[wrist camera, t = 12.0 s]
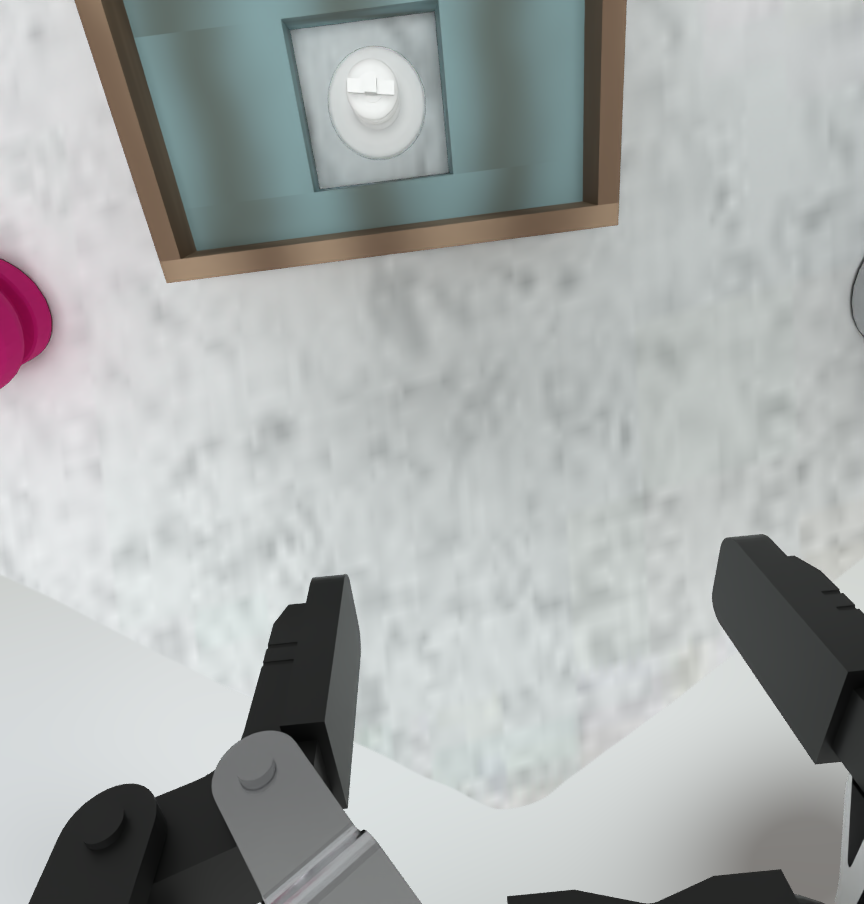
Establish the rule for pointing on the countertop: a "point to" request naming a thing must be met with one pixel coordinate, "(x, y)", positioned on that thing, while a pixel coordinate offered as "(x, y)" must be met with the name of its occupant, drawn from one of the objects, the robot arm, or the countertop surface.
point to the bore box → (288, 141)
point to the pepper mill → (20, 321)
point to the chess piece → (376, 102)
